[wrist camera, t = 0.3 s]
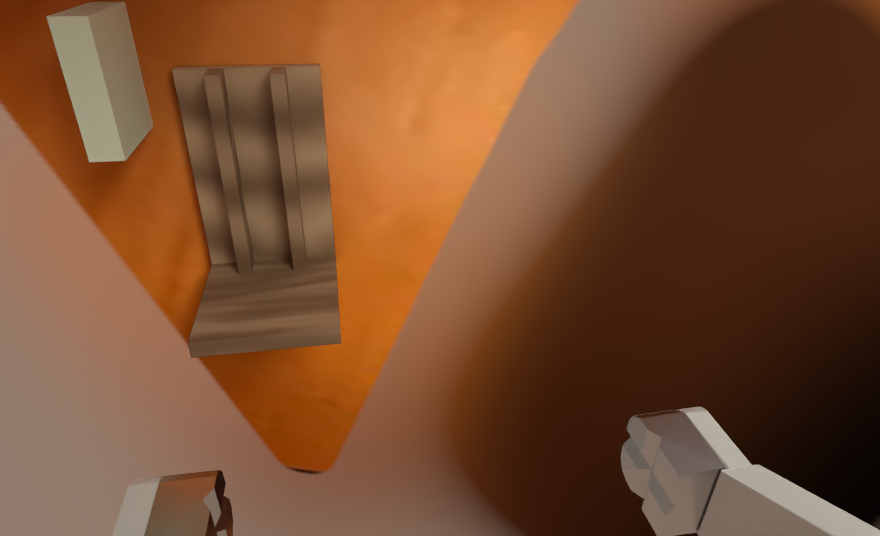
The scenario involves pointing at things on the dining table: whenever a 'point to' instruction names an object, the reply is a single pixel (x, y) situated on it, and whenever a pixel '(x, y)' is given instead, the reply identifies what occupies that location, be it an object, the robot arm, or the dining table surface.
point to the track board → (261, 207)
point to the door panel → (102, 78)
